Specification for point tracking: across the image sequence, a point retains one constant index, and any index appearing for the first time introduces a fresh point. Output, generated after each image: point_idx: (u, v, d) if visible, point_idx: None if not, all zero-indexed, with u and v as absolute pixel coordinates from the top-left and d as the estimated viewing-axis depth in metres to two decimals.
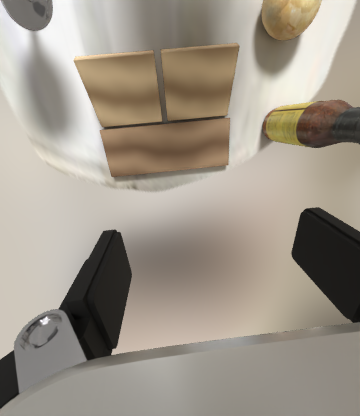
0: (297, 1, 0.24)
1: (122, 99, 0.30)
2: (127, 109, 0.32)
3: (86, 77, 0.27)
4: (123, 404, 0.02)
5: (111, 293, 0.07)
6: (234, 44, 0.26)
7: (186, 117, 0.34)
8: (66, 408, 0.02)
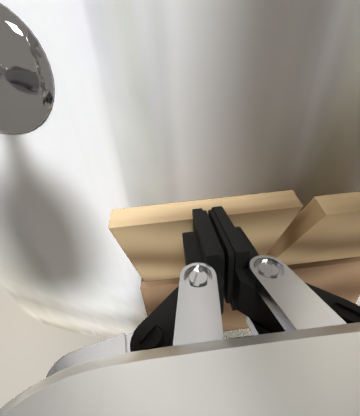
0: None
1: None
2: None
3: (133, 243, 0.12)
4: (123, 404, 0.02)
5: None
6: None
7: (300, 262, 0.18)
8: (66, 408, 0.02)
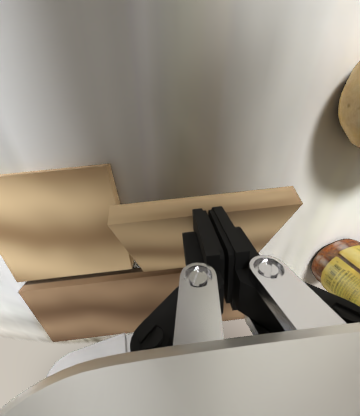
0: None
1: (54, 237, 0.16)
2: (64, 253, 0.17)
3: None
4: (123, 404, 0.02)
5: None
6: (287, 193, 0.11)
7: (178, 267, 0.18)
8: (66, 408, 0.02)
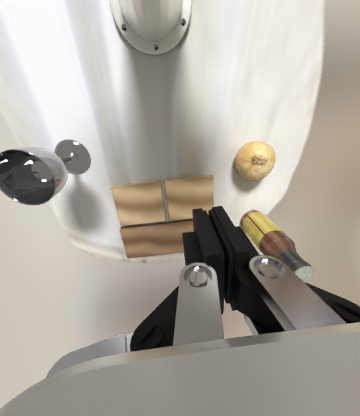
0: (256, 170, 0.37)
1: (138, 207, 0.44)
2: (140, 213, 0.45)
3: (117, 195, 0.42)
4: (123, 404, 0.02)
5: None
6: None
7: (183, 218, 0.46)
8: (67, 409, 0.02)
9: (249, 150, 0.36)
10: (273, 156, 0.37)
